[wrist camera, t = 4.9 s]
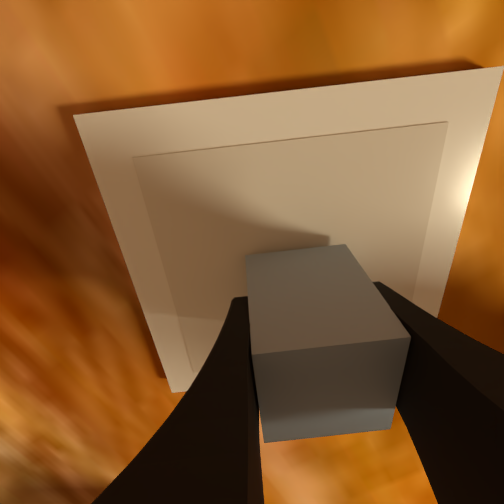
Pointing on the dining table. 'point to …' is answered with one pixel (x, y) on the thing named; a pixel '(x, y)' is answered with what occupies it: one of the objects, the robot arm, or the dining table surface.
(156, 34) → the dining table surface
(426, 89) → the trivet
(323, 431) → the block
